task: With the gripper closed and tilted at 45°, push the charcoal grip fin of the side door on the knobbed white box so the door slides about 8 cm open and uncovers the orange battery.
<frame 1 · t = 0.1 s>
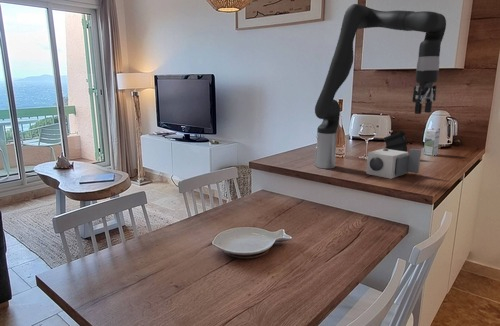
hand: (422, 113, 133), 29 cm above the table, tool pointing down, fingers open, 8 cm apart
side door: (408, 162, 151), point 6 cm above the table, slide at 0.0 cm
knobbed white box: (386, 173, 159), on the table
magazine: (394, 157, 193), on the table
syrup box: (430, 155, 199), on the table
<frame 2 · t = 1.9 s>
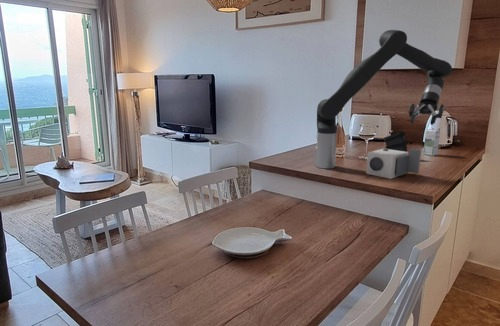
hand: (421, 123, 158), 23 cm above the table, tool tilted 45°, fingers open, 7 cm apart
nothing on the table moved.
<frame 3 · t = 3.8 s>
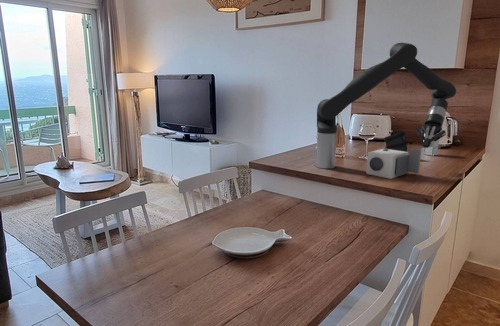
hand: (425, 146, 158), 12 cm above the table, tool tilted 45°, fingers closed
nothing on the table moved.
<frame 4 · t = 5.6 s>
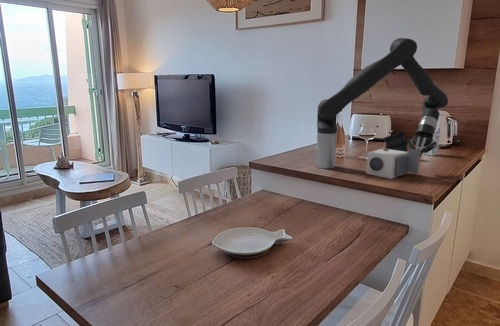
hand: (416, 158, 154), 8 cm above the table, tool tilted 45°, fingers closed
side door: (407, 162, 151), point 6 cm above the table, slide at 0.5 cm, touching gripper
everything else where it was.
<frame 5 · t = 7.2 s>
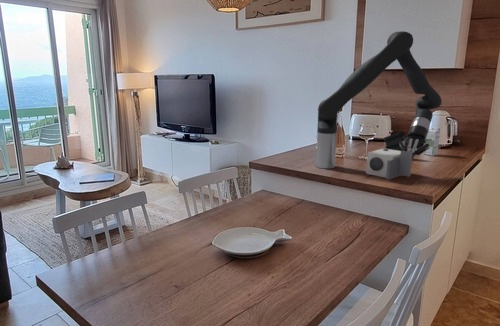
hand: (408, 161, 149), 8 cm above the table, tool tilted 45°, fingers closed
side door: (399, 165, 146), point 6 cm above the table, slide at 8.0 cm, touching gripper
everything else where it was.
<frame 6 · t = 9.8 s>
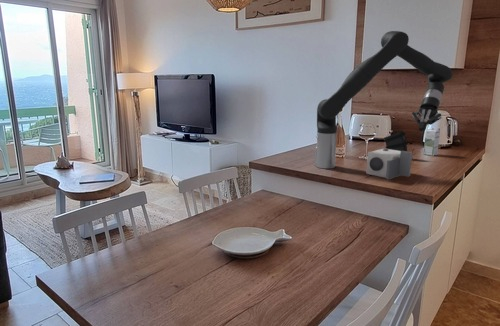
hand: (421, 130, 157), 20 cm above the table, tool tilted 45°, fingers closed
side door: (399, 165, 146), point 6 cm above the table, slide at 8.2 cm
everything else where it was.
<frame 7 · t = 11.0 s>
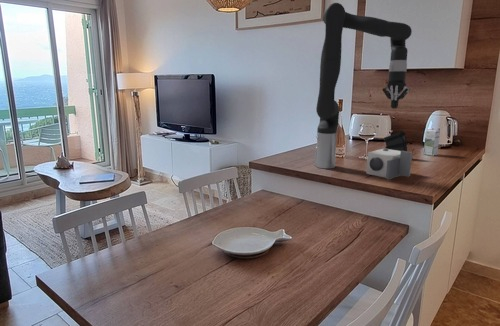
hand: (394, 108, 164), 29 cm above the table, tool pointing down, fingers closed
nothing on the table moved.
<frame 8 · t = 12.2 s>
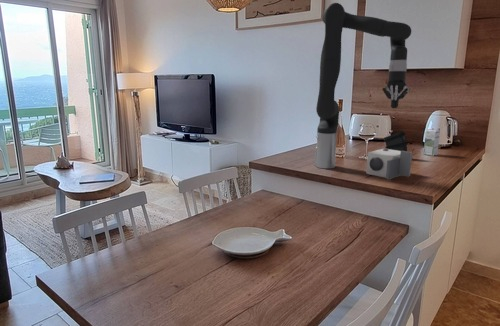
hand: (394, 108, 164), 29 cm above the table, tool pointing down, fingers closed
nothing on the table moved.
at the end: side door slide at 8.2 cm; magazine moved 0.2 cm from its start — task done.
